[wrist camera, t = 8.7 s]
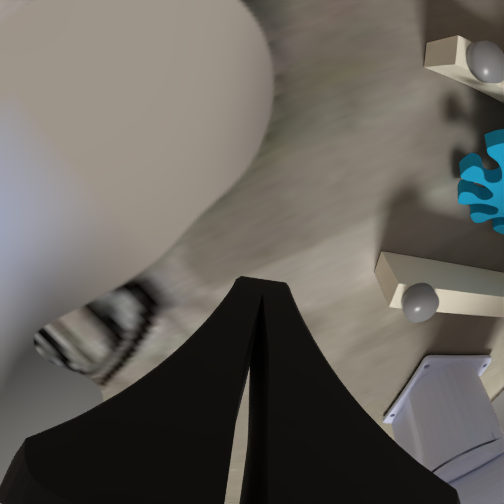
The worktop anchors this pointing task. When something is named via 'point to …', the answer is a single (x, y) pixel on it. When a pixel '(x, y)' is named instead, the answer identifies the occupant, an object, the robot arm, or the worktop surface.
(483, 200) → the gear
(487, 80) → the gear housing
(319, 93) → the worktop surface
